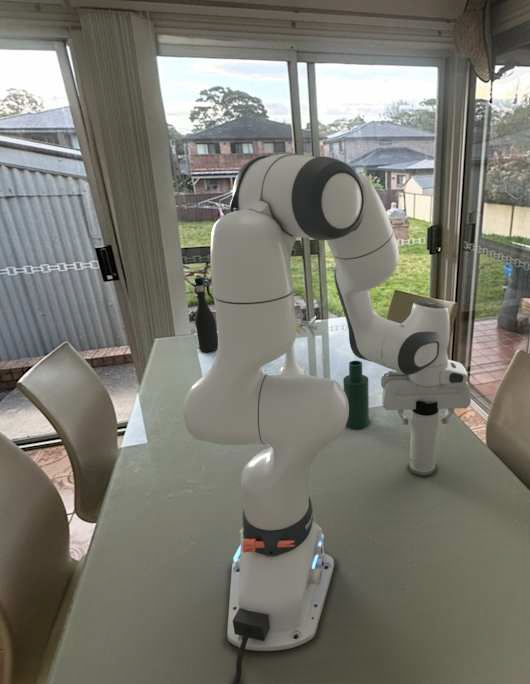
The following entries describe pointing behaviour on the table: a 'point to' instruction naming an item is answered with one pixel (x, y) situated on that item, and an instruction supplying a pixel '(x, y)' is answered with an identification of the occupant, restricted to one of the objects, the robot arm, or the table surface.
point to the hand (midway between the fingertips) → (424, 423)
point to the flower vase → (290, 361)
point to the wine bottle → (205, 322)
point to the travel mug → (423, 438)
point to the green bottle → (357, 396)
